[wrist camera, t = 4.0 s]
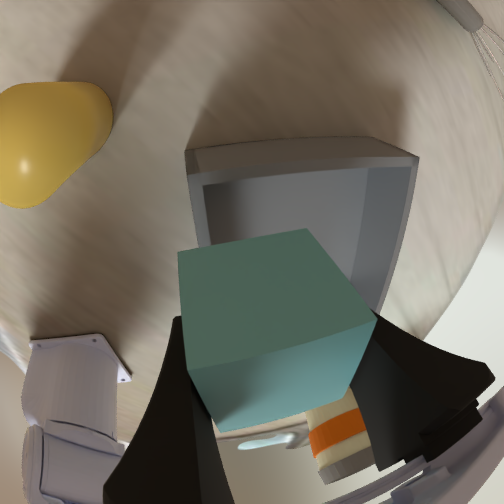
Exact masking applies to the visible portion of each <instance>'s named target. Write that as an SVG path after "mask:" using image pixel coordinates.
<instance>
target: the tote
mask: <svg viewBox="0 0 504 504" xmlns="http://www.w3.org/2000/svg"><path fill="white" fill-rule="evenodd" d="M185 162H186V172H187V180H188V186H189V193H190V199H191V205H192V211H193V217H194V223H195V228H196V234H197V239H198V245H199V248H201V247H206V246H211V245H217V244H222V243H227V242H232V241H238V240H243V239H249V238H254V237H259V236H265V235H270V234H276V233H281V232H287V231H292V230H298V229H304V228H307V229H308V230H309V231H310V233H311V234H312V235H313V236H314V238H315V239H316V240H317V241H318V242H319V244H320V245H321V246H322V247H323V249H324V250H325V251H326V252H327V254H328V255H329V256H330V257H331V259H332V260H333V261H334V262H335V264H336V265H337V266H338V267H339V269H340V270H341V271H342V273H343V274H344V275H345V276H346V278H347V279H348V280H349V282H350V283H351V284H352V286H353V287H354V288H355V289H356V291H357V292H358V293H359V295H360V296H361V297H362V299H363V300H364V301H365V303H366V304H367V305H368V307H369V308H370V309H372V310H373V311H374V312H376V313H377V314H380V311H381V309H382V306H383V303H384V300H385V297H386V294H387V291H388V288H389V285H390V282H391V279H392V276H393V273H394V270H395V266H396V263H397V260H398V256H399V252H400V249H401V245H402V241H403V238H404V234H405V230H406V225H407V221H408V217H409V212H410V208H411V203H412V198H413V193H414V188H415V182H416V176H417V170H418V164H419V157H418V156H416V155H414V154H411V153H409V152H407V151H405V150H402V149H400V148H398V147H395V146H393V145H391V144H388V143H386V142H383V141H381V140H378V139H376V138H373V137H311V138H291V139H276V140H264V141H253V142H244V143H235V144H227V145H219V146H212V147H205V148H198V149H192V150H186V151H185Z"/></svg>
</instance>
